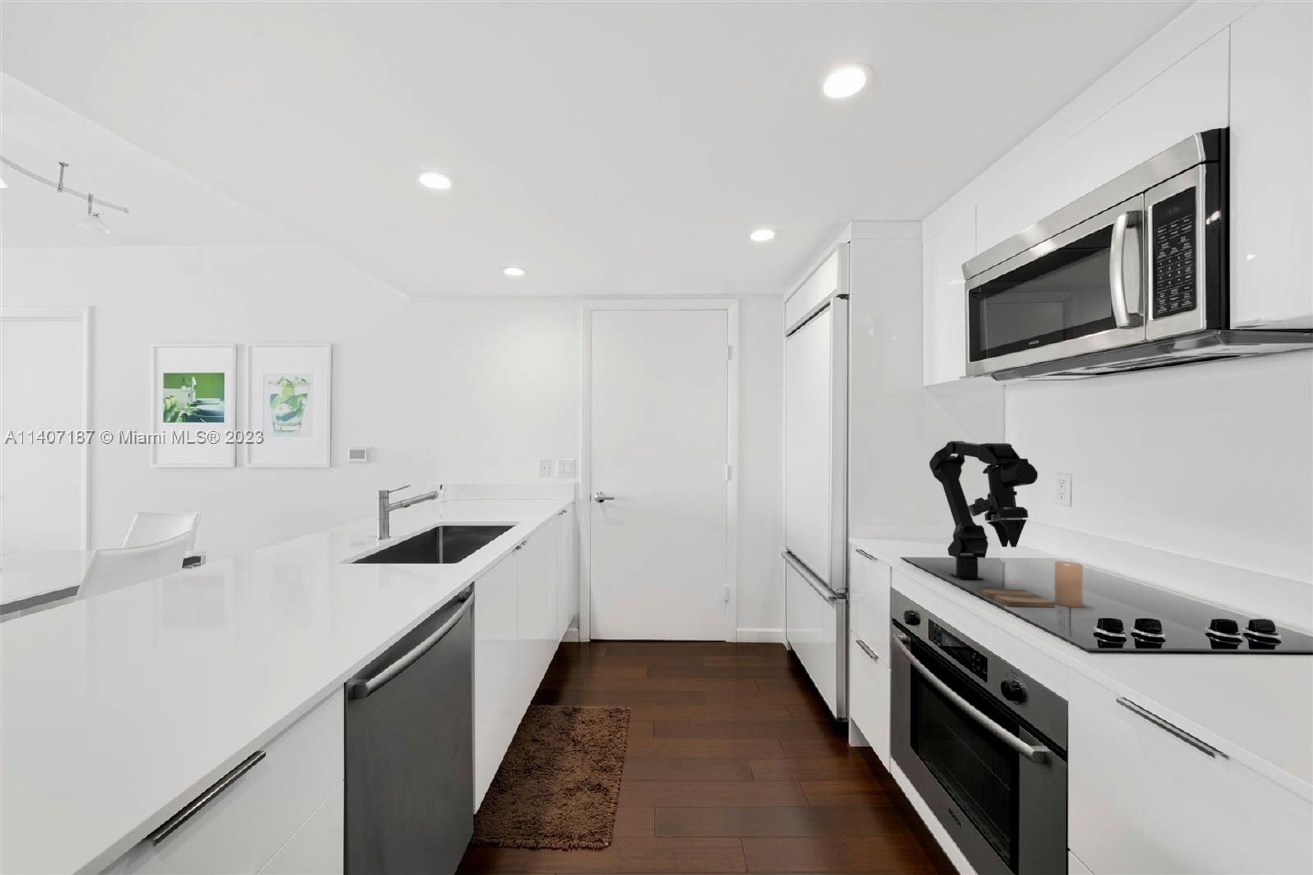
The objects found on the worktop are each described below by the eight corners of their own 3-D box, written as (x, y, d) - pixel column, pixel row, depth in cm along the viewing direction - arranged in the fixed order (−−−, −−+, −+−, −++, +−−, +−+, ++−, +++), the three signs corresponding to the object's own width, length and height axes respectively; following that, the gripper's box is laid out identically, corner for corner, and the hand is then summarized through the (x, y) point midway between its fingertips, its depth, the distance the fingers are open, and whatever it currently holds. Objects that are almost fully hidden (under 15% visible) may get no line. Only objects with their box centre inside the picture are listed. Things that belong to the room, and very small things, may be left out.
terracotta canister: (1049, 600, 141) (1049, 561, 141) (1071, 601, 141) (1071, 561, 141) (1065, 607, 135) (1065, 566, 135) (1088, 607, 135) (1088, 566, 135)
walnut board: (981, 593, 147) (981, 589, 147) (1022, 594, 147) (1022, 589, 147) (1009, 606, 135) (1009, 601, 135) (1054, 607, 135) (1054, 602, 135)
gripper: (962, 492, 162) (968, 547, 160) (975, 486, 145) (982, 547, 142) (1005, 491, 159) (1012, 546, 156) (1024, 484, 142) (1032, 547, 139)
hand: (1008, 547), depth 148 cm, fingers open, 9 cm apart
